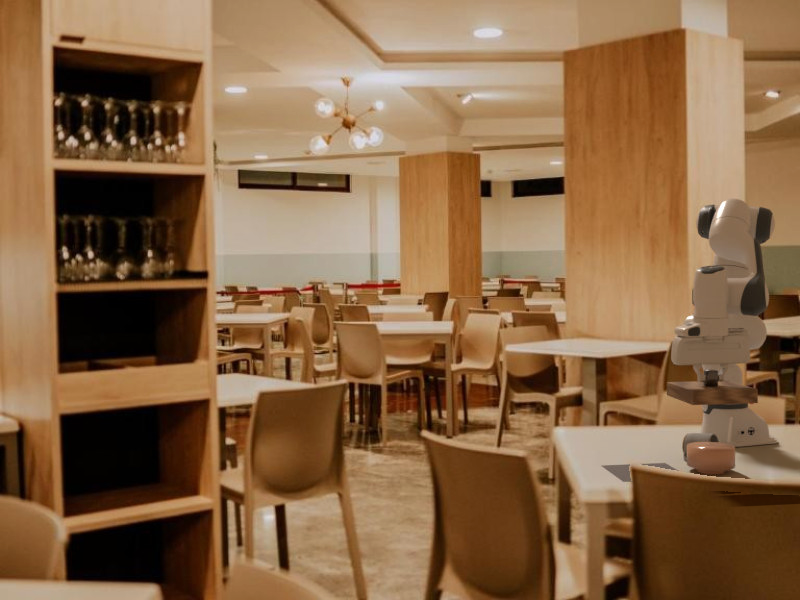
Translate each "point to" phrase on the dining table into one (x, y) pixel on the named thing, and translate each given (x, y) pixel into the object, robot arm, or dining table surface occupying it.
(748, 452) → the dining table surface
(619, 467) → the mat
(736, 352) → the robot arm
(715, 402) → the lid
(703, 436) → the ceramic mug
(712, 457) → the bowl
